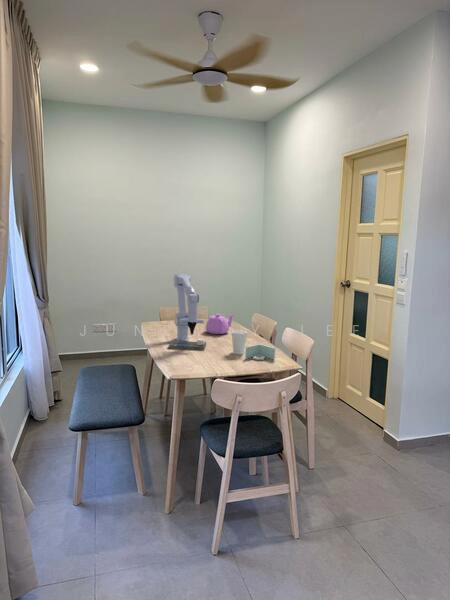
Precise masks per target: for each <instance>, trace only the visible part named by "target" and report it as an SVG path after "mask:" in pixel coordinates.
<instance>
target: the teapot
mask: <svg viewBox="0 0 450 600" xmlns="http://www.w3.org/2000/svg"><path fill="white" fill-rule="evenodd" d="M234 316H235V313H233V314H231V315H230V316H229V317H228V321H227V319H226V317H225V316H222V315H221V314H220V313H215V315H211V316H210V317H209V318H208V320H207V322H206V325H205V330H206V332H207V333H209V334H211V335H224V334H226V333H228V332H229V331H230V327H231V326H232V324H233V323H232V321H233V320H232V319H233V317H234Z"/></svg>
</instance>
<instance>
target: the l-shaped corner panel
mask: <svg viewBox="0 0 450 600" xmlns="http://www.w3.org/2000/svg"><path fill="white" fill-rule="evenodd" d="M244 354H245V356H244V358H246V360H248V358H249V359H253V358H254V359H255V360H254V359H253V360H254V361H256V360H263V361H264V360H265V359H268V358H270V359H269V360H271V359H276V347H273V346H269V345H266V344H261V343H257V344H253V345H249V346H245V353H244ZM251 357H253V358H251ZM265 357H267V358H265Z"/></svg>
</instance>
